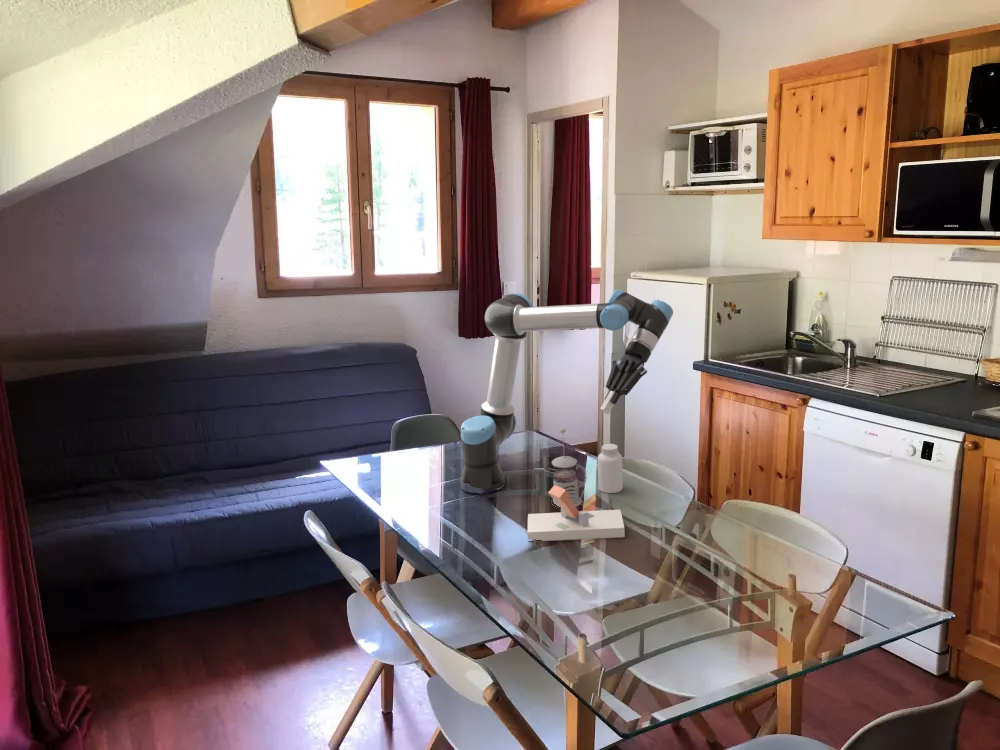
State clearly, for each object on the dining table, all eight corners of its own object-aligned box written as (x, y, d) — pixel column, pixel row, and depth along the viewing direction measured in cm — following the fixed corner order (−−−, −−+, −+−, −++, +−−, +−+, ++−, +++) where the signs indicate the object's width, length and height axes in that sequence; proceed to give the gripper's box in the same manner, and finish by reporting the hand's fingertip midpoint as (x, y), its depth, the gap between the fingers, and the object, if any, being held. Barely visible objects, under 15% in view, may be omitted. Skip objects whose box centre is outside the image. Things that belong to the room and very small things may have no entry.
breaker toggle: (573, 511, 240) (554, 484, 233) (585, 517, 236) (565, 489, 229) (567, 519, 239) (548, 492, 232) (579, 524, 235) (559, 497, 228)
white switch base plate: (528, 541, 233) (526, 519, 231) (528, 523, 245) (527, 502, 243) (624, 537, 232) (623, 515, 230) (620, 518, 243) (619, 497, 241)
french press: (550, 496, 263) (546, 424, 256) (586, 493, 262) (582, 421, 255) (551, 509, 253) (547, 434, 246) (588, 507, 252) (585, 432, 246)
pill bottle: (622, 494, 260) (621, 450, 256) (597, 493, 261) (595, 450, 257) (623, 484, 267) (622, 441, 263) (599, 483, 269) (597, 441, 265)
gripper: (663, 356, 244) (626, 422, 239) (631, 350, 254) (596, 412, 249) (650, 342, 239) (613, 409, 234) (619, 337, 249) (582, 400, 245)
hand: (604, 411), depth 242 cm, fingers closed
